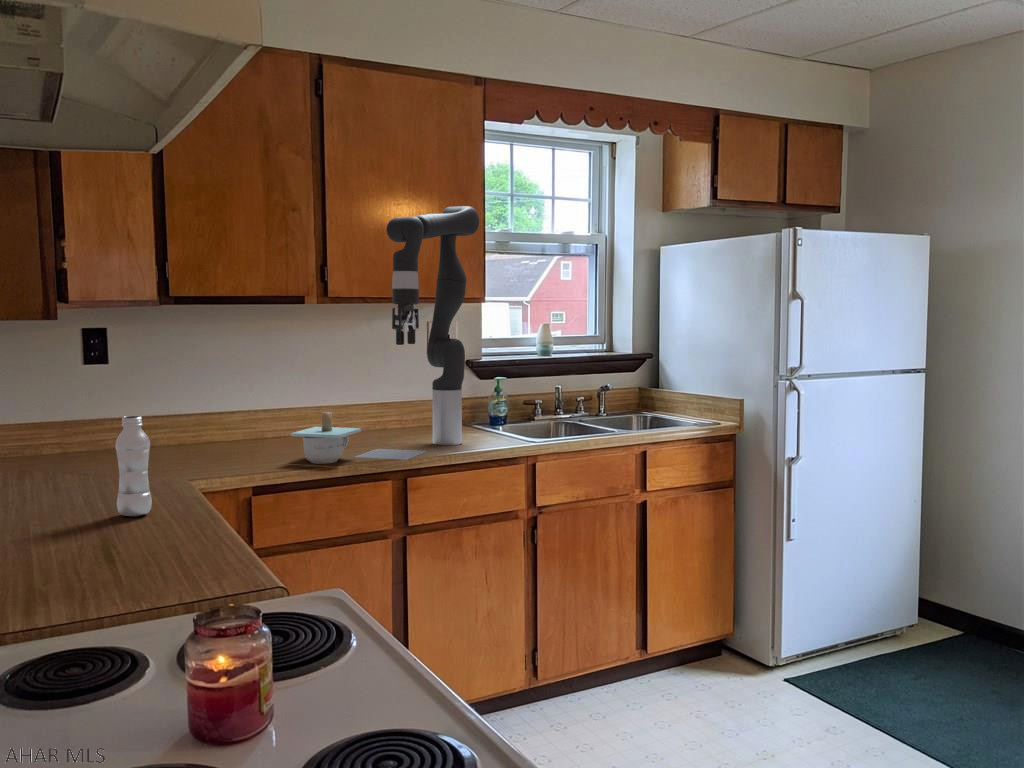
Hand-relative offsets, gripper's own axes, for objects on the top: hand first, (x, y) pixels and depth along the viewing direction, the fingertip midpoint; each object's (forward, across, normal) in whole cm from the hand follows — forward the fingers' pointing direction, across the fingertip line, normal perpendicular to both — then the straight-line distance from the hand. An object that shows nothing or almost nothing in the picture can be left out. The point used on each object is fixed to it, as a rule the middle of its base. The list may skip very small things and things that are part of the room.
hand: (405, 344), depth 243 cm
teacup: (+32, -17, +16) cm, 40 cm away
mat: (+32, -2, +4) cm, 32 cm away
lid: (+24, -17, +16) cm, 34 cm away
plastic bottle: (+32, -85, +24) cm, 94 cm away
